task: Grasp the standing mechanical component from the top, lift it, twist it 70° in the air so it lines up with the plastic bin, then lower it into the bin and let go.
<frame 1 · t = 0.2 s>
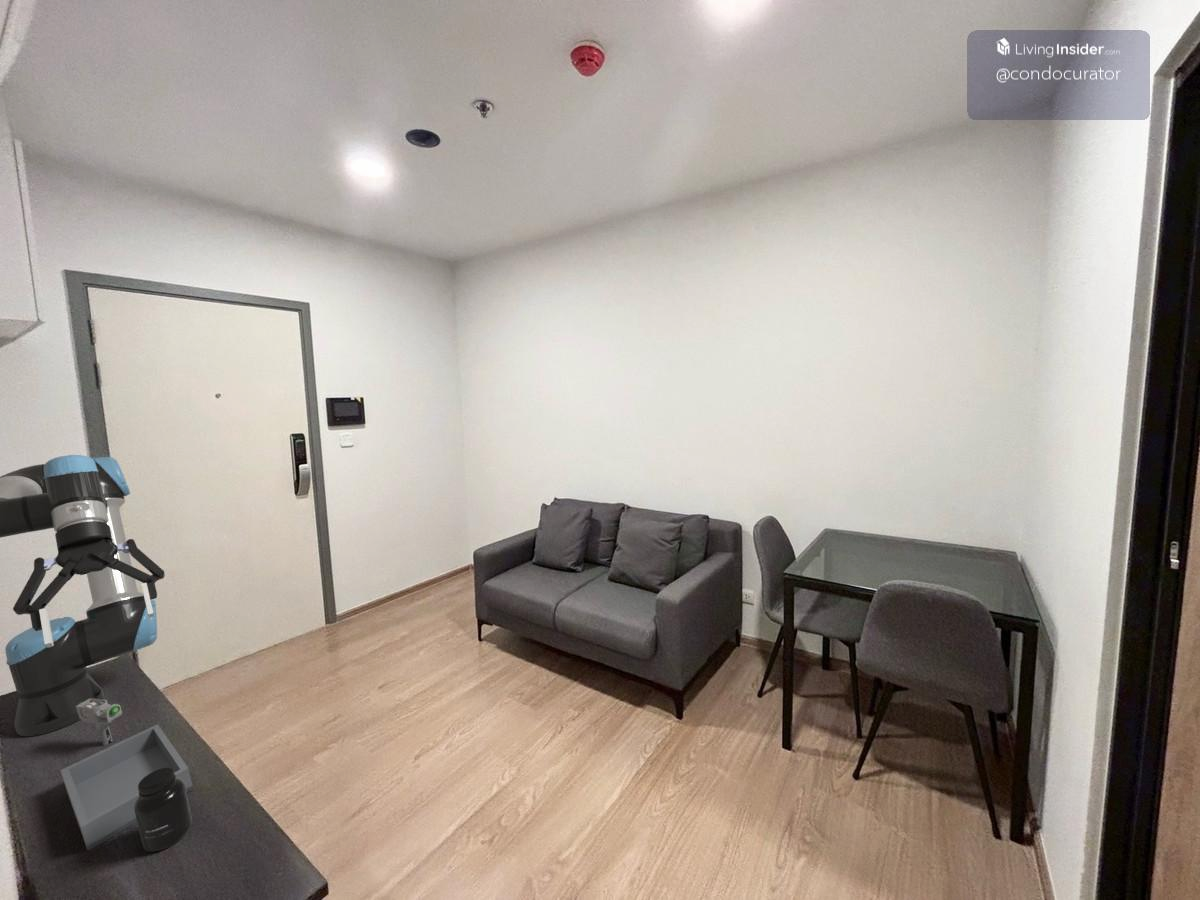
hand: (102, 629, 93), 35 cm above the table, tool tilted 35°, fingers open, 13 cm apart
supplement bottle: (169, 835, 89), on the table
mechanical component: (108, 743, 112), on the table
bin: (129, 790, 99), on the table
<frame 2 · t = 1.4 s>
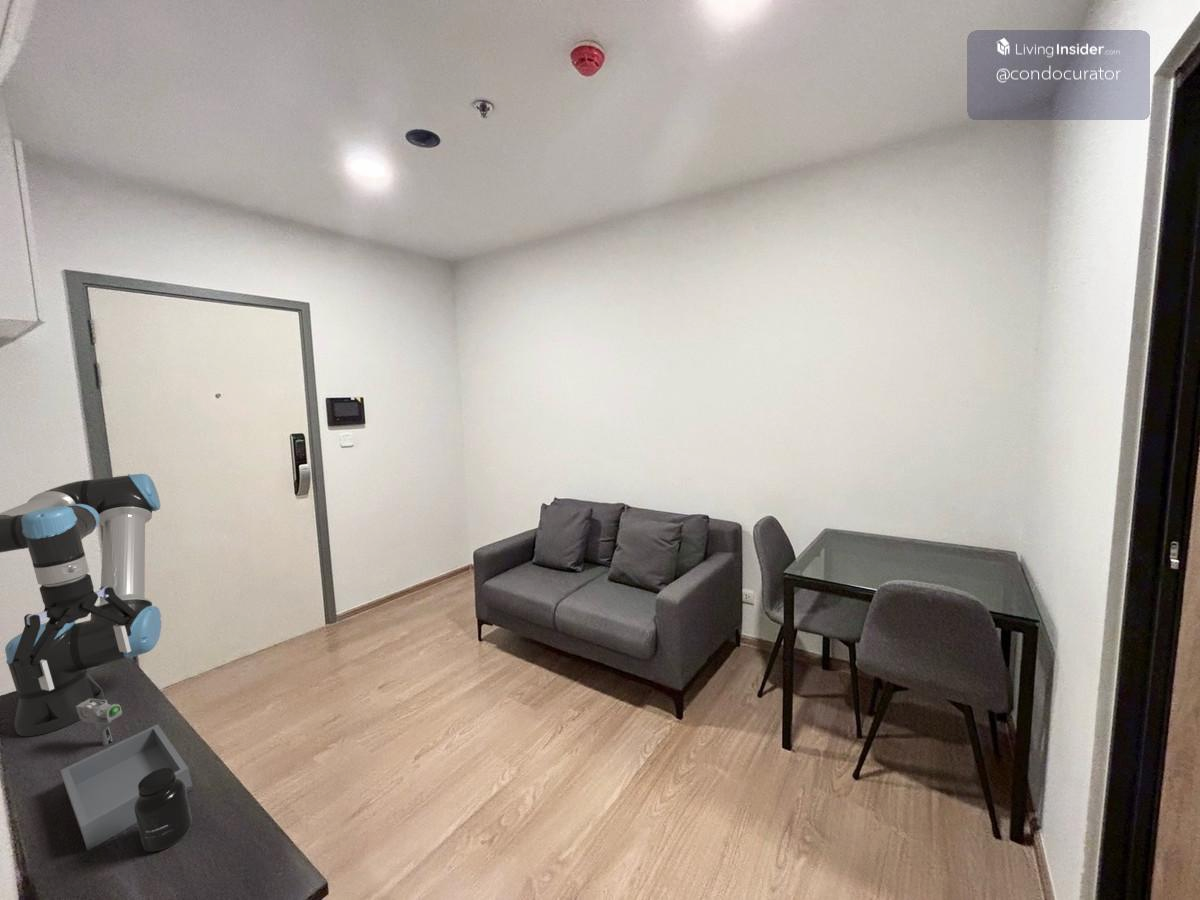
hand: (88, 669, 109), 19 cm above the table, tool pointing down, fingers open, 13 cm apart
nothing on the table moved.
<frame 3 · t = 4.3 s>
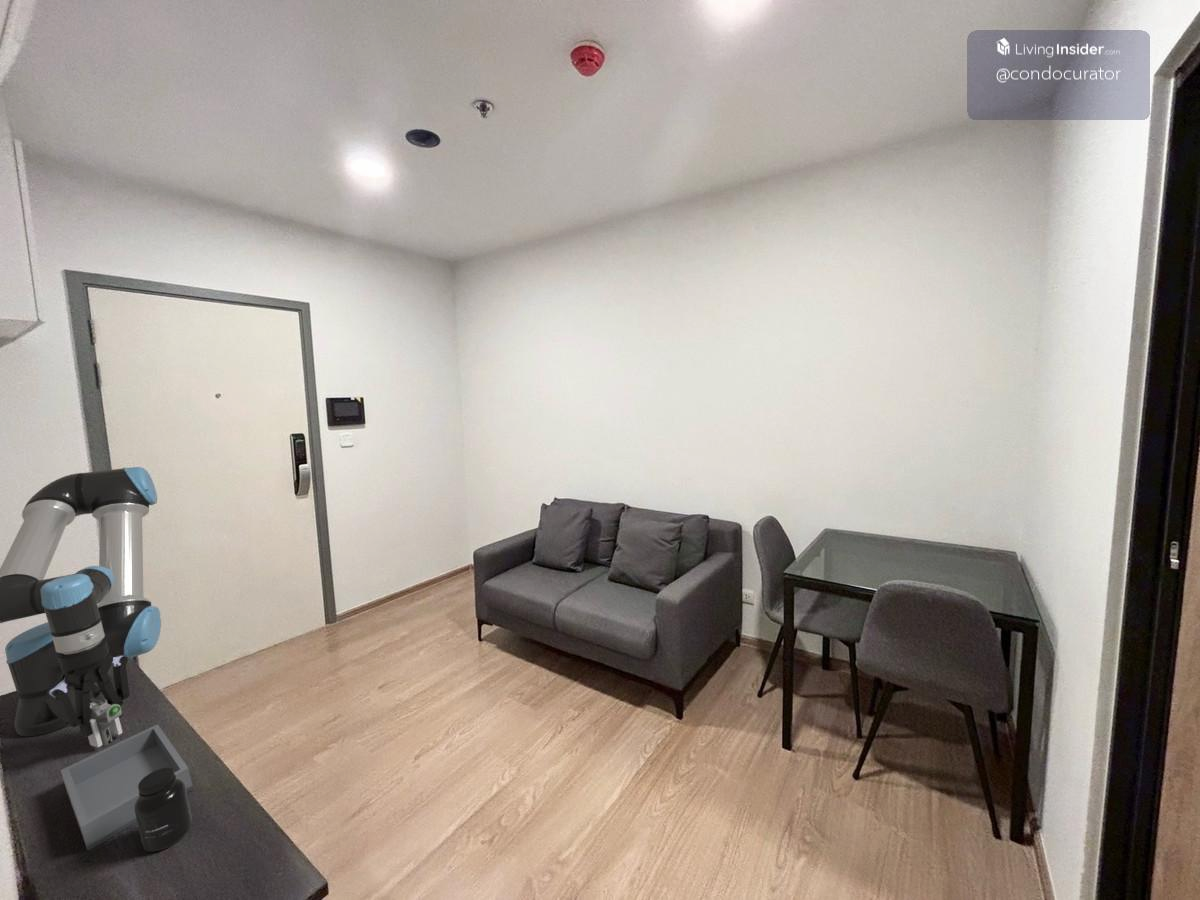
hand: (106, 738, 112), 1 cm above the table, tool pointing down, fingers closed on mechanical component, 3 cm apart
mechanical component: (107, 743, 112), on the table, touching gripper
everything else where it was.
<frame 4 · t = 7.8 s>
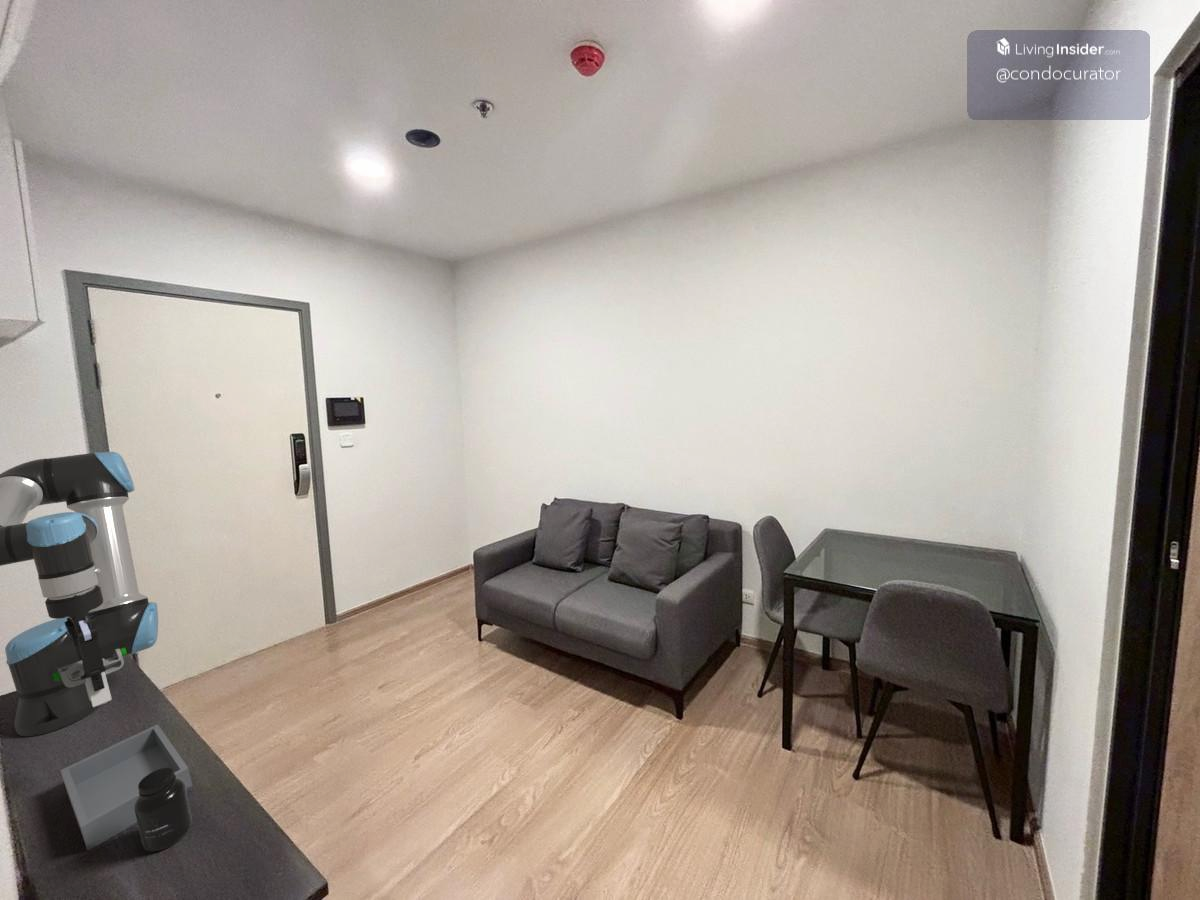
hand: (100, 699, 100), 17 cm above the table, tool pointing down, fingers closed on mechanical component, 3 cm apart
mechanical component: (102, 704, 101), point 16 cm above the table, touching gripper
everything else where it was.
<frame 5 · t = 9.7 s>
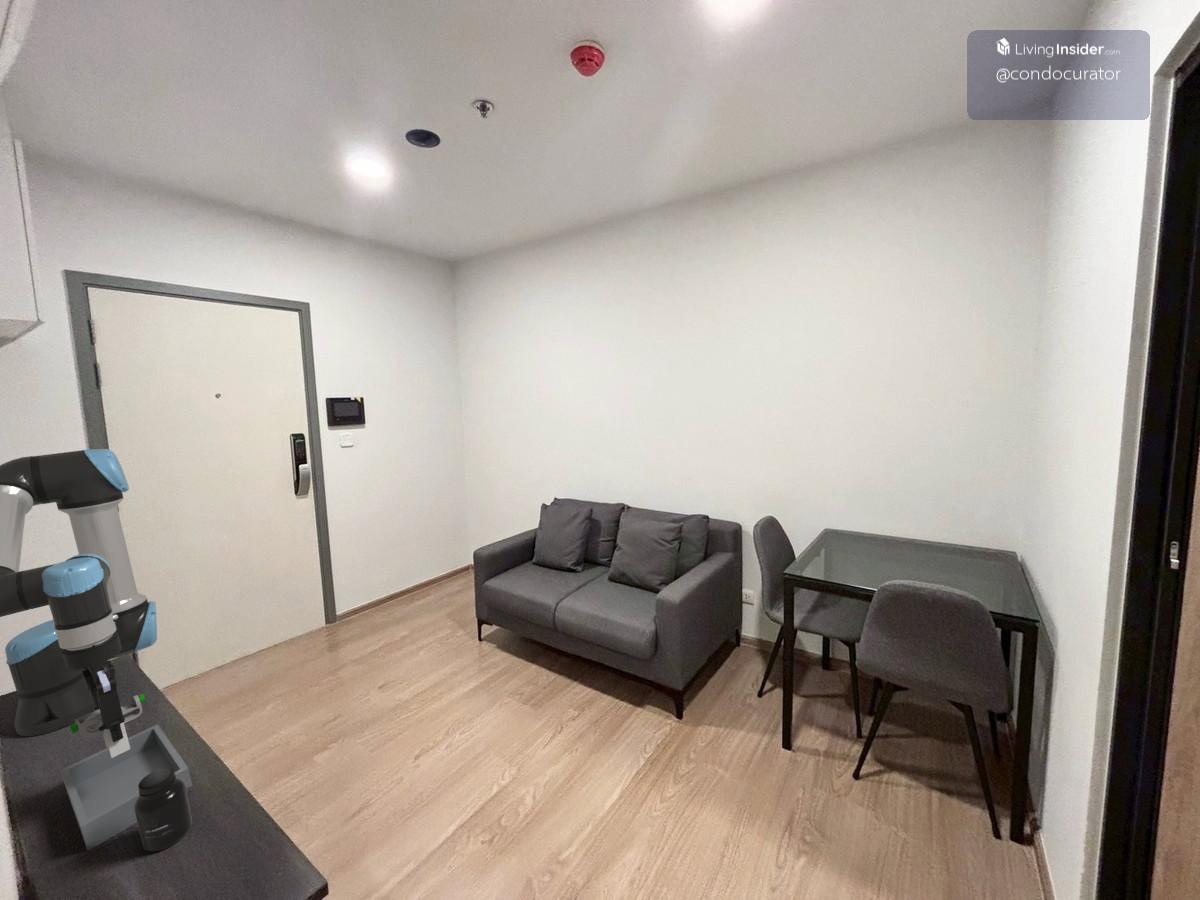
hand: (118, 748, 97), 10 cm above the table, tool pointing down, fingers closed on mechanical component, 3 cm apart
mechanical component: (120, 754, 97), point 9 cm above the table, touching gripper
everything else where it was.
when the fingers open (4 cm above the table, at t = 11.3 s): mechanical component drops 2 cm, resting on bin.
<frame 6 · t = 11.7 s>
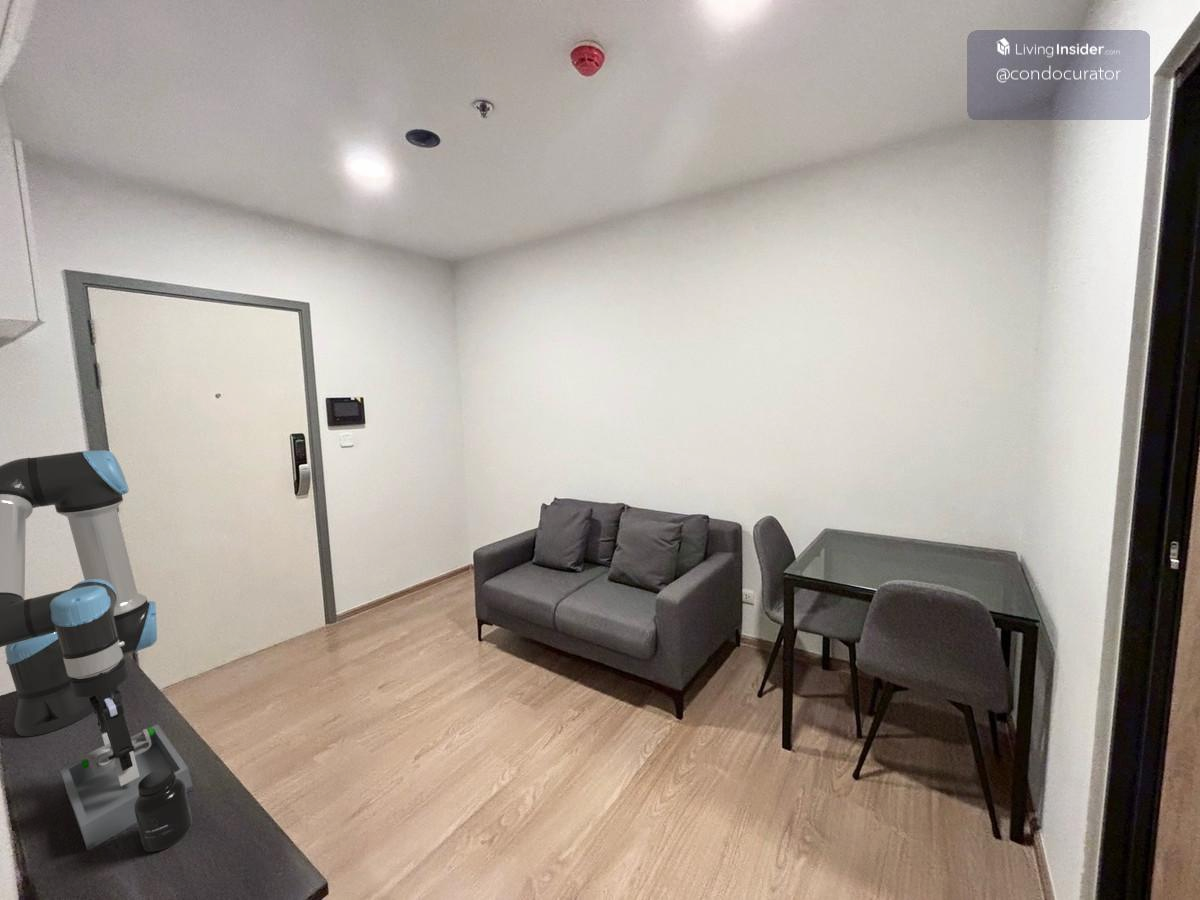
hand: (124, 769, 98), 5 cm above the table, tool pointing down, fingers open, 9 cm apart
mechanical component: (128, 786, 99), point 1 cm above the table, touching bin
everything else where it was.
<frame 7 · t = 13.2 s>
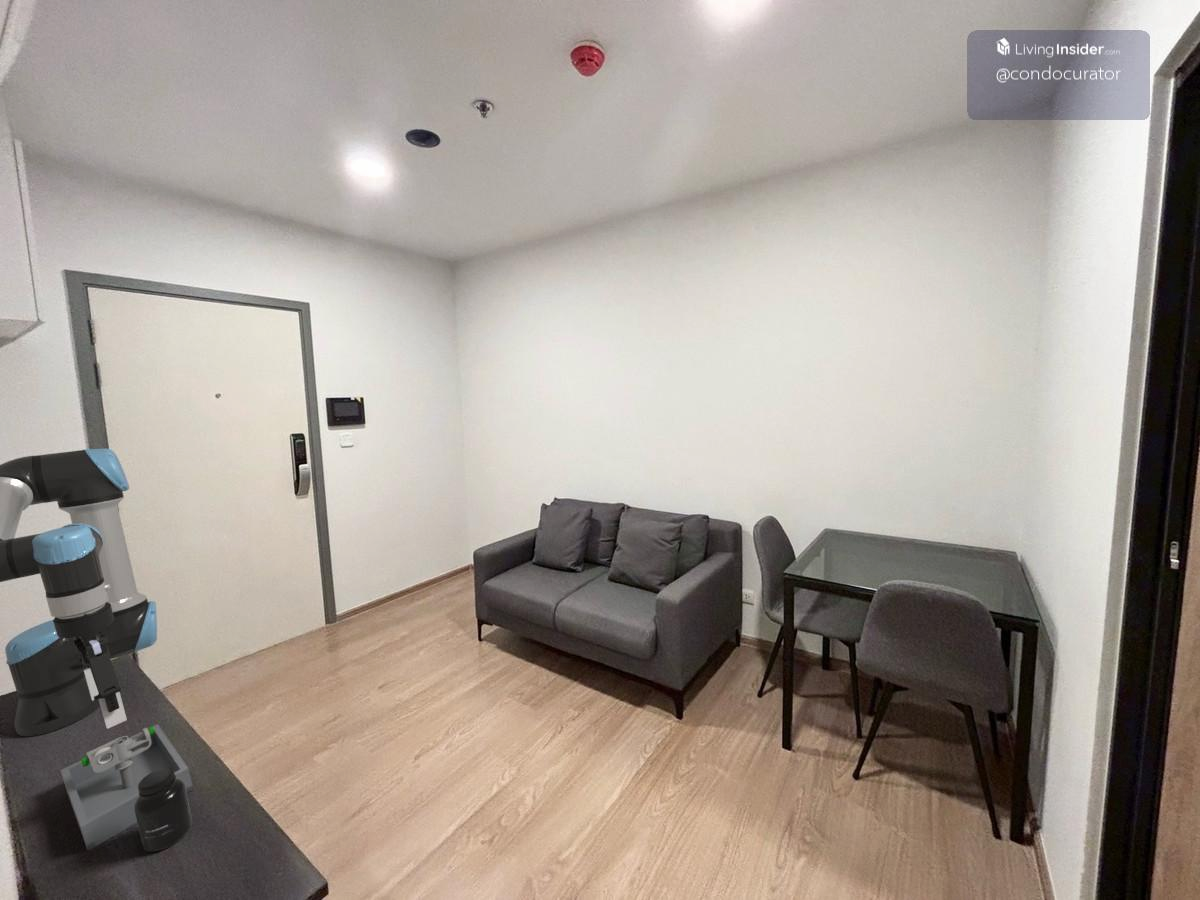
hand: (108, 709, 96), 18 cm above the table, tool pointing down, fingers open, 13 cm apart
nothing on the table moved.
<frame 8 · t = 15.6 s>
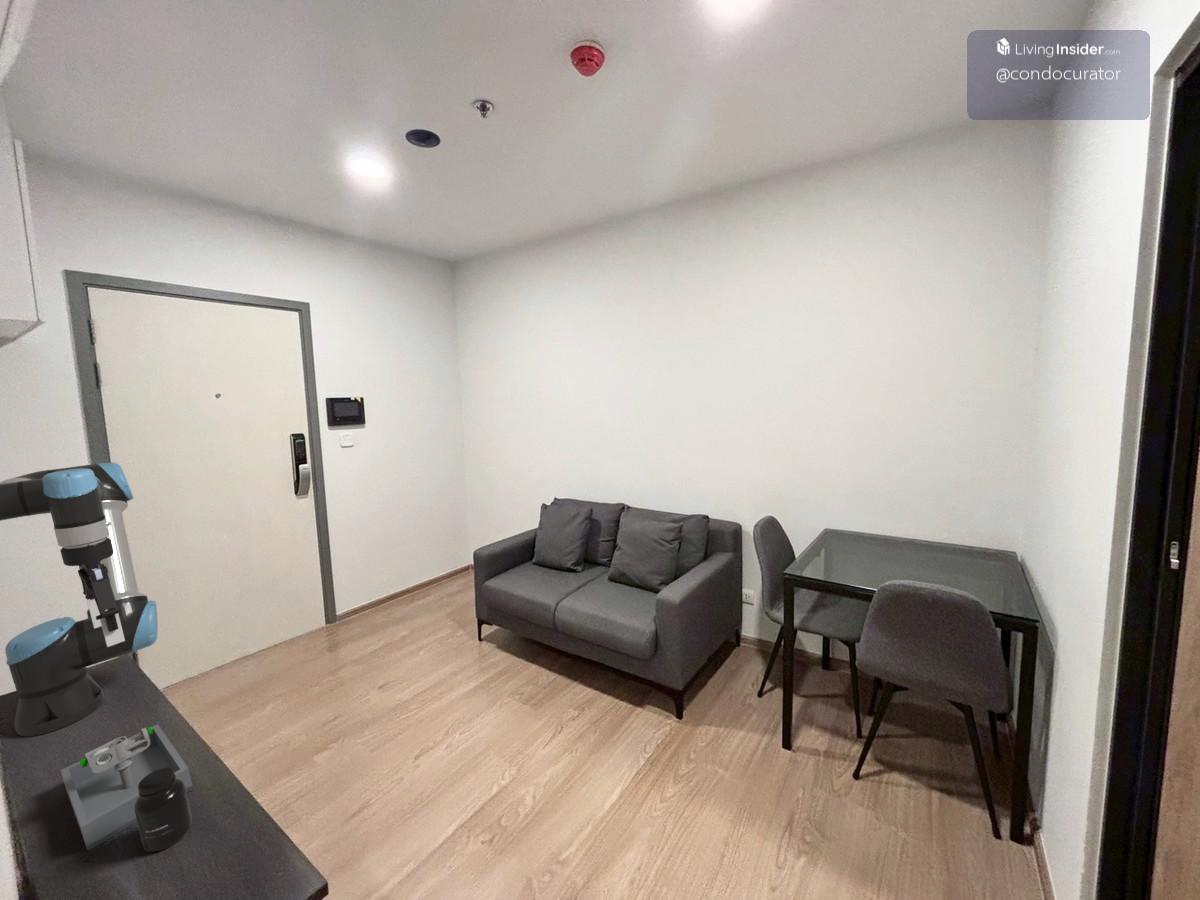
hand: (109, 634, 108), 27 cm above the table, tool pointing down, fingers open, 13 cm apart
nothing on the table moved.
at the end: mechanical component inside the target area on the bin (0.1 cm from its centre), point 0.8 cm above the bin's base; the gripper is holding nothing; supplement bottle moved 0.2 cm from its start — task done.
